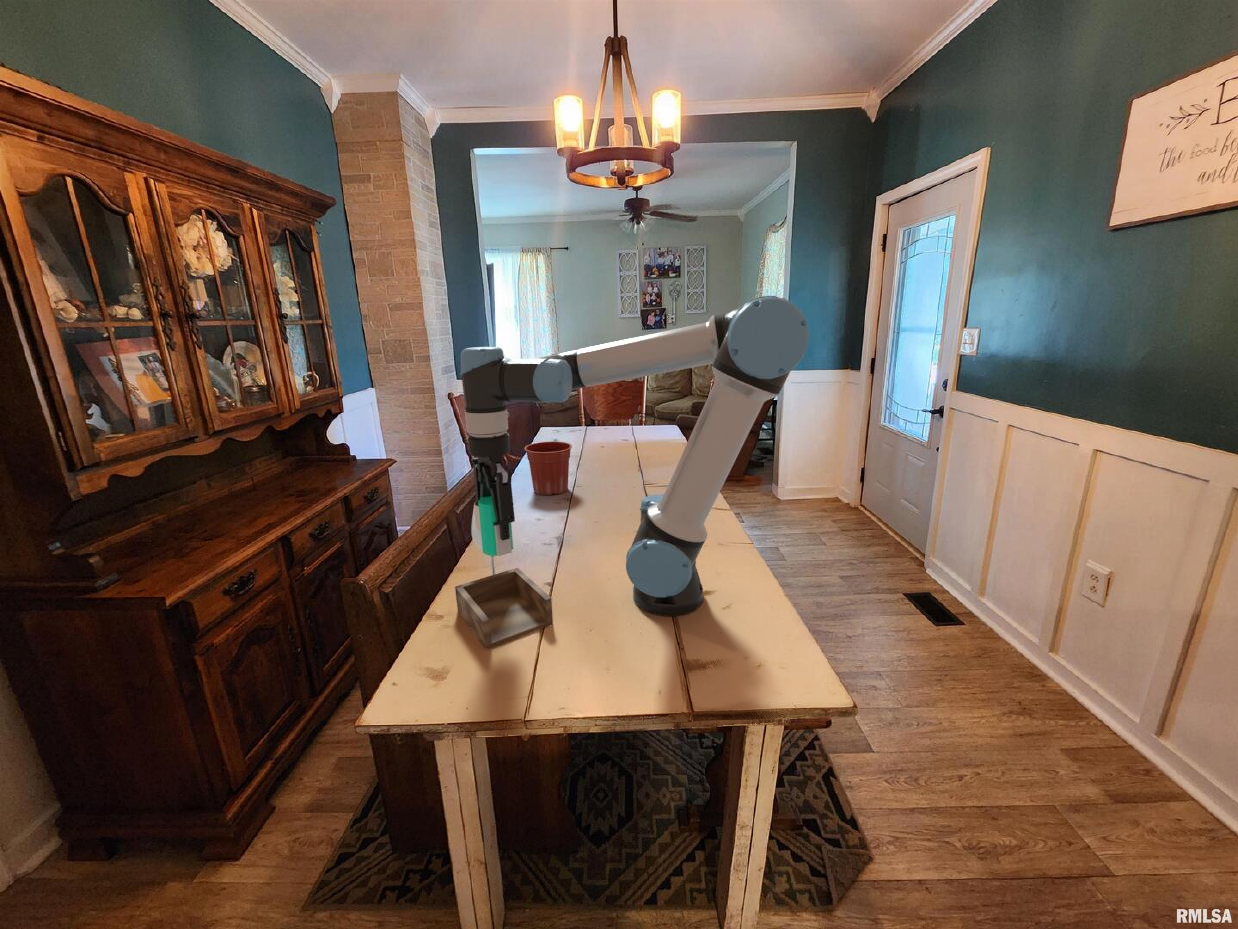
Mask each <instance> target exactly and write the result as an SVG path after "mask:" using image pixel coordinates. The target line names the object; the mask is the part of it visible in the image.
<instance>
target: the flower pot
mask: <svg viewBox="0 0 1238 929" xmlns="http://www.w3.org/2000/svg"><path fill="white" fill-rule="evenodd" d="M572 447H573V444H571V443H568V442H565V441H554V440H553V441H541V442H535V443H534V442H533V443H530V444H527V445H526V446H525V447H524V450H525V452H526V458H527V460H528V463H529V469H530V470H529V471H530V476H531V483H532V488H533V492H534V493H535V494H537V495H542V496H552V495H553V494H555V495H559V494H564V493H565V492H566V491H568V489H569V473H570V472H569V470H570V469H569V468H570V458H571V449H572Z"/></svg>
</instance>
